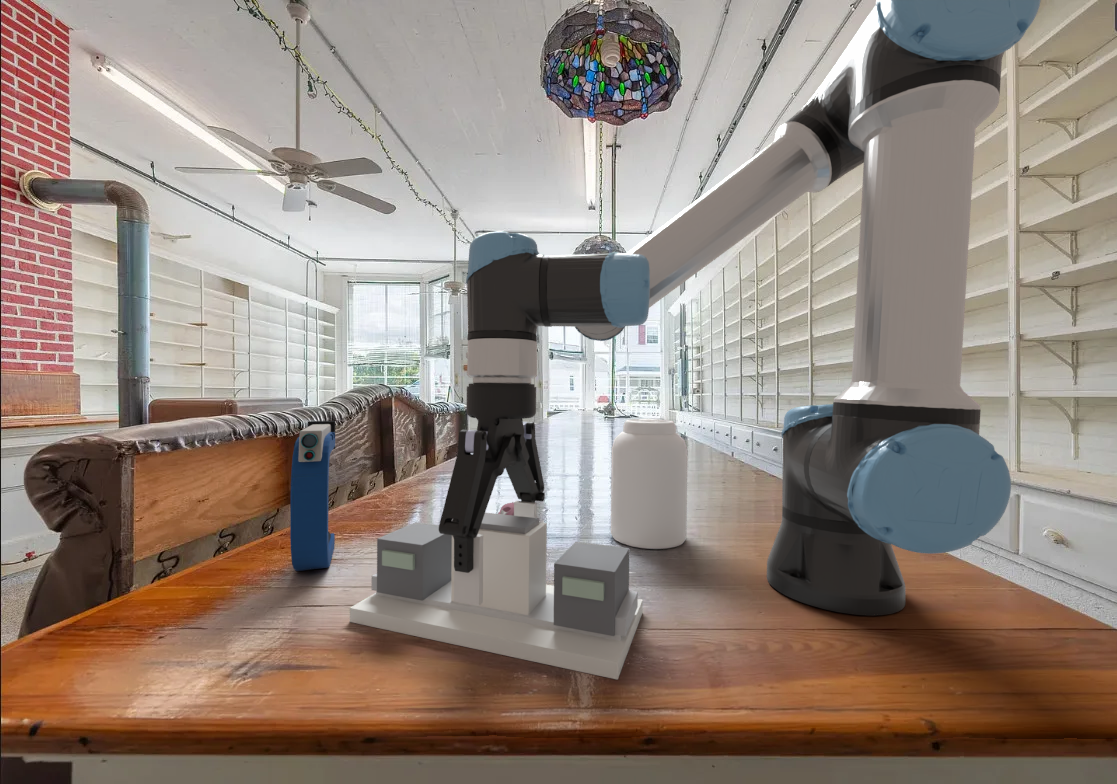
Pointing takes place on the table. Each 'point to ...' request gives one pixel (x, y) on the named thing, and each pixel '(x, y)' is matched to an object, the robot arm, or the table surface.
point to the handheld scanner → (311, 497)
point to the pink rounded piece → (507, 509)
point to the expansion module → (511, 562)
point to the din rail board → (542, 636)
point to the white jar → (649, 485)
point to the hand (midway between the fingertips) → (500, 576)
